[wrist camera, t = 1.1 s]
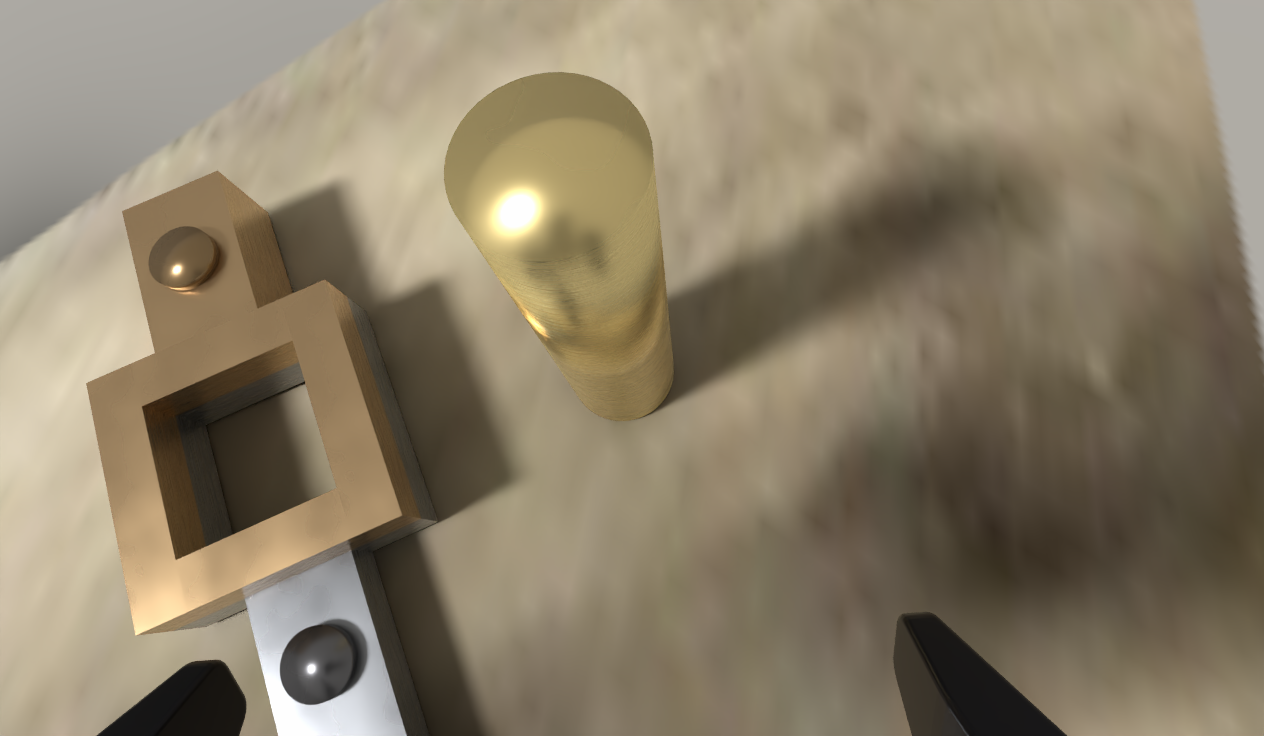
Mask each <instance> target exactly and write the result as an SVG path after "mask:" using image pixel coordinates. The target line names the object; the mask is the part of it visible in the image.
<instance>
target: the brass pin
mask: <svg viewBox="0 0 1264 736" xmlns="http://www.w3.org/2000/svg"><path fill="white" fill-rule="evenodd" d="M444 182H445V188H446V193H447V196H448V200H449V203H450V205H451V207H452V209H453V211H454V213H455V215H456V216H457V218H458V219H459V221H460V222H461V224H462V225H463V227H464V228H465V230H466V231H467V233H468V234H469V236H470V237H471V239H472V240H473V242H474V243H475V245H476V246H477V248H478V249H479V250H480V252H481V253H482V255H483V256H484V258H485V259H486V261H487V262H488V264H489V265H490V267H491V268H492V270H493V271H494V273H495V274H496V276H497V277H498V279H499V280H500V282H501V283H502V284H503V286H504V287H505V289H506V290H507V292H508V293H509V295H510V296H511V298H512V299H513V301H514V302H515V304H516V305H517V307H518V308H519V310H520V311H521V313H522V314H523V316H524V317H525V319H526V320H527V321H528V323H529V324H530V326H531V327H532V329H533V330H534V332H535V333H536V335H537V336H538V338H539V339H540V341H541V342H542V344H543V345H544V347H545V348H546V350H547V351H548V353H549V354H550V355H551V357H552V358H553V360H554V361H555V363H556V364H557V366H558V367H559V369H560V370H561V372H562V373H563V375H564V376H565V378H566V379H567V381H568V382H569V384H570V385H571V387H572V388H573V389H574V391H575V392H576V394H577V395H578V397H579V398H580V400H581V401H582V403H583V404H584V405H585V406H586V407H587V408H588V409H589V410H591V411H592V412H593V413H595V414H597V415H598V416H601V417H603V418H606V419H609V420H615V421H628V420H634V419H638V418H640V417H643V416H645V415H647V414H649V413H650V412H652V411H653V410H655V409H656V408H657V407H658V406H659V405H660V404H661V403H662V402H663V400H664V399H665V398H666V396H667V394H668V393H669V390H670V388H671V385H672V382H673V377H674V364H673V354H672V343H671V333H670V323H669V312H668V302H667V292H666V281H665V271H664V261H663V251H662V240H661V230H660V220H659V209H658V199H657V189H656V178H655V168H654V158H653V148H652V141H651V137H650V133H649V130H648V128H647V125H646V123H645V121H644V119H643V117H642V116H641V114H640V113H639V111H638V109H637V108H636V107H635V106H634V105H633V104H632V102H631V101H630V100H629V99H628V98H626V97H625V96H624V95H623V94H622V93H621V92H619V91H618V90H616V89H615V88H613V87H612V86H610V85H608V84H606V83H604V82H602V81H600V80H597V79H594V78H591V77H588V76H584V75H579V74H575V73H564V72H555V73H542V74H535V75H531V76H527V77H523V78H520V79H518V80H515V81H512V82H510V83H508V84H506V85H504V86H502V87H499V88H498V89H496V90H495V91H493V92H491V93H490V94H488V95H487V96H486V97H484V98H483V99H482V100H481V101H479V102H478V103H477V104H476V105H475V106H474V107H473V108H472V109H471V110H470V111H469V112H468V113H467V115H466V116H465V117H464V119H463V120H462V121H461V122H460V124H459V126H458V127H457V129H456V131H455V133H454V135H453V137H452V139H451V142H450V144H449V147H448V150H447V154H446V159H445V166H444Z"/></svg>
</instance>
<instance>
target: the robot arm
mask: <svg viewBox="0 0 1264 736" xmlns="http://www.w3.org/2000/svg"><path fill="white" fill-rule="evenodd" d="M893 660H894V669H895V674H896V678H897V682H898V686H899V689H900V693H901V697H902V700H903V704H904V708H905V711H906V715H907V719H908V722H909V726H910V730H911V733H912V736H1067V735H1066V734H1065V733H1064V732H1063V731H1061V730H1060V729H1059V728H1058V727H1057V726H1056V725H1055V724H1054V723H1053V722H1052V721H1051V720H1049V719H1048V718H1047V717H1046V716H1045V715H1044V714H1043V713H1042V712H1041V711H1040V710H1039V709H1037V708H1036V707H1035V706H1034V705H1033V704H1032V703H1031V702H1030V701H1029V700H1028V699H1027V698H1025V697H1024V696H1023V695H1022V694H1021V693H1020V692H1019V691H1018V690H1017V689H1016V688H1015V687H1014V686H1012V685H1011V684H1010V683H1009V682H1008V681H1007V680H1006V679H1005V678H1004V677H1003V676H1002V675H1000V674H999V673H998V672H997V671H996V670H995V669H994V668H993V667H992V666H991V665H990V664H988V663H987V662H986V661H985V660H984V659H983V658H982V657H981V656H980V655H979V654H978V653H976V652H975V651H974V650H973V649H972V648H971V647H970V646H969V645H968V644H967V643H966V642H965V641H963V640H962V639H961V638H960V637H959V636H958V635H957V634H956V633H955V632H954V631H953V630H951V629H950V628H949V627H948V626H947V625H946V624H945V623H944V622H943V621H942V620H941V619H939V618H938V617H937V616H936V615H934V614H932V613H929V612H922V613H907V614H902V615H900V616H899V618H898V621H897V628H896V637H895V647H894V657H893ZM245 714H246V699H245V696H244V694H243V692H242V690H241V689H240V687H239V685H238V684H237V682H236V680H235V678H234V677H233V675H232V673H231V671H230V670H229V668H228V666H227V665H226V664H225V663H224V662H222V661H221V660H206V661H195V662H191V663H188V664H186V665H185V666H183V667H182V668H181V669H179V670H178V671H177V672H176V673H174V674H173V675H172V676H171V677H169V678H168V679H167V680H166V681H164V682H163V683H162V684H161V685H159V686H158V687H157V688H156V689H154V690H153V691H152V692H151V693H149V694H148V695H147V696H146V697H144V698H143V699H142V700H141V701H139V702H138V703H137V704H136V705H134V706H133V707H132V708H131V709H129V710H128V711H127V712H126V713H124V714H123V715H122V716H120V717H119V718H118V719H117V720H115V721H114V722H113V723H112V724H110V725H109V726H108V727H107V728H105V729H104V730H103V731H102V732H100V733H99V734H98V735H97V736H239V734H240V731H241V728H242V725H243V722H244V719H245Z"/></svg>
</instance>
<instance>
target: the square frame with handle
mask: <svg viewBox="0 0 1264 736" xmlns="http://www.w3.org/2000/svg"><path fill="white" fill-rule="evenodd" d="M122 213H123V217H124V221H125V226H126V230H127V234H128V239H129V243H130V247H131V251H132V256H133V260H134V264H135V269H136V273H137V277H138V282H139V286H140V290H141V294H142V299H143V303H144V307H145V312H146V316H147V320H148V325H149V329H150V333H151V337H152V342H153V346H154V350H155V354H152V355H150V356H148V357H145V358H143V359H141V360H138V361H136V362H134V363H132V364H129V365H127V366H125V367H122V368H120V369H118V370H115V371H113V372H111V373H109V374H106V375H104V376H102V377H99V378H97V379H95V380H93V381H90V382H88V383H86V384H87V389H88V394H89V399H90V404H91V410H92V415H93V420H94V425H95V430H96V435H97V440H98V445H99V450H100V455H101V461H102V466H103V471H104V476H105V481H106V486H107V491H108V496H109V501H110V507H111V512H112V517H113V522H114V527H115V532H116V537H117V542H118V547H119V552H120V558H121V563H122V568H123V573H124V578H125V583H126V588H127V593H128V598H129V603H130V609H131V614H132V619H133V624H134V629H135V634H136V635H143V634H151V633H159V632H168V631H176V630H184V629H192V628H200V627H206V626H209V625H211V624H213V623H215V622H218V621H220V620H222V619H224V618H226V617H229V616H231V615H233V614H235V613H237V612H240V611H242V610H244V609H246V608H247V609H248V613H249V617H250V621H251V626H252V630H253V634H254V638H255V642H256V646H257V650H258V654H259V658H260V662H261V666H262V670H263V674H264V678H265V682H266V686H267V690H268V694H269V698H270V703H271V707H272V711H273V715H274V719H275V723H276V727H277V731H278V735H279V736H429V733H428V730H427V726H426V723H425V720H424V717H423V713H422V710H421V707H420V704H419V701H418V697H417V694H416V691H415V688H414V684H413V681H412V678H411V675H410V671H409V668H408V665H407V662H406V658H405V655H404V652H403V649H402V645H401V642H400V639H399V636H398V632H397V629H396V626H395V623H394V620H393V616H392V613H391V610H390V607H389V603H388V600H387V597H386V594H385V590H384V587H383V584H382V581H381V577H380V574H379V571H378V568H377V564H376V561H375V558H374V555H373V552H372V551H374V550H377V549H379V548H381V547H383V546H385V545H388V544H390V543H392V542H394V541H397V540H399V539H401V538H403V537H405V536H408V535H410V534H412V533H414V532H416V531H419V530H421V529H423V528H425V527H427V526H430V525H432V524H434V523H436V522H438V520H437V517H436V514H435V511H434V508H433V505H432V502H431V499H430V496H429V493H428V490H427V488H426V485H425V482H424V479H423V476H422V473H421V470H420V467H419V464H418V461H417V458H416V455H415V453H414V450H413V447H412V444H411V441H410V438H409V435H408V432H407V429H406V426H405V423H404V420H403V418H402V415H401V412H400V409H399V406H398V403H397V400H396V397H395V394H394V391H393V388H392V385H391V383H390V380H389V377H388V374H387V371H386V368H385V365H384V362H383V359H382V356H381V353H380V350H379V347H378V345H377V342H376V339H375V336H374V333H373V330H372V327H371V324H370V321H369V318H368V315H367V312H366V311H365V310H363V309H362V308H361V307H360V306H358V305H357V304H356V303H354V302H353V301H352V300H351V299H349V298H348V297H347V296H346V295H344V294H343V293H342V292H340V291H339V290H338V289H337V288H335V287H334V286H333V285H331V284H330V283H329V282H328V281H326V280H322V281H320V282H318V283H315V284H313V285H311V286H308V287H306V288H304V289H302V290H299V291H297V292H295V293H293V292H292V289H291V286H290V283H289V279H288V276H287V273H286V270H285V267H284V263H283V260H282V257H281V254H280V250H279V247H278V244H277V241H276V237H275V234H274V231H273V228H272V224H271V221H270V218H269V215H268V212H266V211H265V210H264V209H263V208H262V207H260V206H259V205H258V204H257V203H256V202H254V201H253V200H252V199H251V198H250V197H248V196H247V195H246V194H245V193H244V192H242V191H241V190H240V189H239V188H238V187H236V186H235V185H234V184H233V183H232V182H230V181H229V180H228V179H227V178H226V177H224V176H223V175H222V174H221V173H220V172H218V171H216V172H213V173H211V174H209V175H206V176H204V177H202V178H199V179H197V180H195V181H192V182H190V183H188V184H185V185H183V186H181V187H178V188H176V189H173V190H171V191H169V192H166V193H164V194H162V195H159V196H157V197H155V198H152V199H150V200H148V201H145V202H143V203H141V204H138V205H136V206H134V207H131V208H129V209H127V210H124V211H122ZM304 381H305V384H306V387H307V390H308V394H309V397H310V400H311V404H312V407H313V410H314V414H315V417H316V420H317V424H318V427H319V430H320V433H321V437H322V440H323V443H324V447H325V450H326V453H327V457H328V460H329V463H330V467H331V470H332V473H333V477H334V480H335V483H336V487H337V488H336V489H334V490H331V491H329V492H327V493H325V494H323V495H320V496H318V497H316V498H314V499H311V500H309V501H307V502H305V503H302V504H300V505H298V506H296V507H293V508H291V509H289V510H287V511H285V512H282V513H280V514H278V515H276V516H273V517H271V518H269V519H267V520H264V521H262V522H260V523H258V524H256V525H253V526H251V527H249V528H247V529H244V530H242V531H240V532H238V533H235V534H232V529H231V525H230V521H229V517H228V513H227V509H226V505H225V501H224V497H223V493H222V489H221V485H220V481H219V477H218V473H217V469H216V465H215V461H214V457H213V453H212V449H211V445H210V441H209V437H208V433H207V429H206V424H209V423H211V422H213V421H216V420H218V419H220V418H222V417H225V416H227V415H229V414H231V413H234V412H236V411H238V410H241V409H243V408H245V407H247V406H250V405H252V404H254V403H256V402H259V401H261V400H263V399H265V398H268V397H270V396H272V395H275V394H277V393H279V392H281V391H284V390H286V389H288V388H290V387H293V386H295V385H297V384H300V383H302V382H304Z"/></svg>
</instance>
